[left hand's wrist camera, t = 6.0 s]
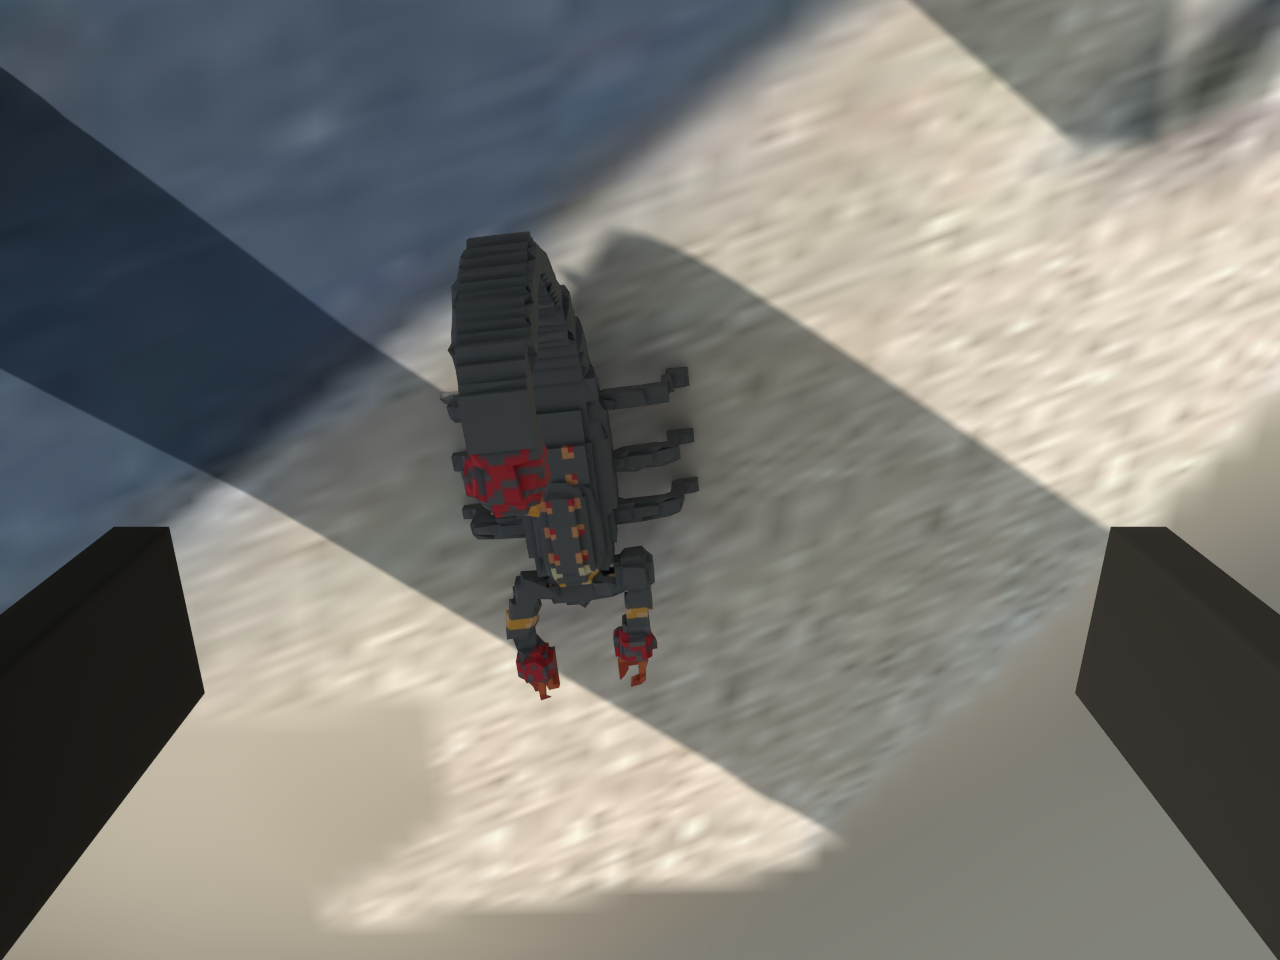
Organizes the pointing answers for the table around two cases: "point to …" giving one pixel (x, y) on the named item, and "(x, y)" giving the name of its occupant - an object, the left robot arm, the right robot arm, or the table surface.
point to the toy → (551, 449)
